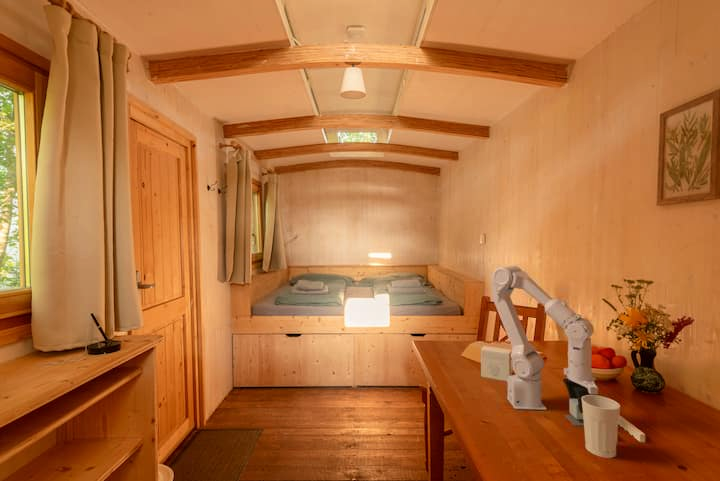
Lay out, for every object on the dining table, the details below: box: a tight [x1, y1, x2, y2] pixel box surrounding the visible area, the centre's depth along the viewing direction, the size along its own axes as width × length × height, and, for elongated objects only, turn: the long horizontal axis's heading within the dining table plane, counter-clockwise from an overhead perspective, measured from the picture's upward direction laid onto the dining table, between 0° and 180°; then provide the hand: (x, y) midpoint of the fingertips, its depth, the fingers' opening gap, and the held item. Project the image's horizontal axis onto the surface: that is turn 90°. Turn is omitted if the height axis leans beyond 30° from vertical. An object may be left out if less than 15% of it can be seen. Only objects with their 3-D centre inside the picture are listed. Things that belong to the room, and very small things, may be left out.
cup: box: [581, 394, 621, 459], centre depth 89 cm, size 8×8×12 cm
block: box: [568, 398, 583, 419], centre depth 104 cm, size 4×4×4 cm
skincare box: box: [480, 345, 512, 383], centre depth 137 cm, size 10×6×10 cm, turn 58°
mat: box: [564, 414, 584, 427], centre depth 104 cm, size 6×6×1 cm
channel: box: [618, 414, 646, 443], centre depth 100 cm, size 8×14×2 cm, turn 176°
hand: (579, 408), depth 104 cm, fingers closed on block, 4 cm apart
